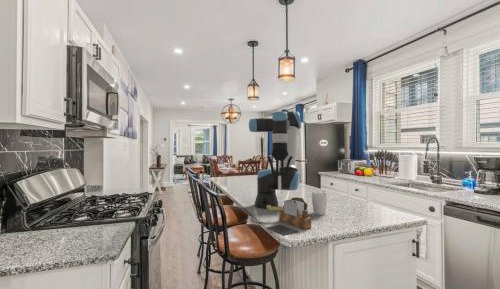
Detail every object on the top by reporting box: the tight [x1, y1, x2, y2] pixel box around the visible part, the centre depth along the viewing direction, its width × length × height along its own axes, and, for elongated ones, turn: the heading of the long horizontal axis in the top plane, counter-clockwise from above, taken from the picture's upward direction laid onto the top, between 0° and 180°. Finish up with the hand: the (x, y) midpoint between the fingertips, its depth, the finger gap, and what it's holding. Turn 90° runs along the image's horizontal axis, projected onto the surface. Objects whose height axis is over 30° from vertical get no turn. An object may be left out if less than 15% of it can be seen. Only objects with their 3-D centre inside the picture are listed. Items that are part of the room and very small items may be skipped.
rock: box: [290, 197, 308, 211], centre depth 145 cm, size 14×11×10 cm
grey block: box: [283, 199, 304, 217], centre depth 130 cm, size 9×5×7 cm, turn 35°
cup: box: [311, 190, 329, 216], centre depth 150 cm, size 9×9×12 cm
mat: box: [266, 223, 298, 236], centre depth 121 cm, size 12×8×1 cm, turn 35°
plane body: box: [278, 204, 312, 230], centre depth 130 cm, size 18×4×8 cm, turn 35°
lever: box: [266, 205, 283, 211], centre depth 137 cm, size 2×8×2 cm, turn 76°
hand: (279, 189), depth 132 cm, fingers closed
